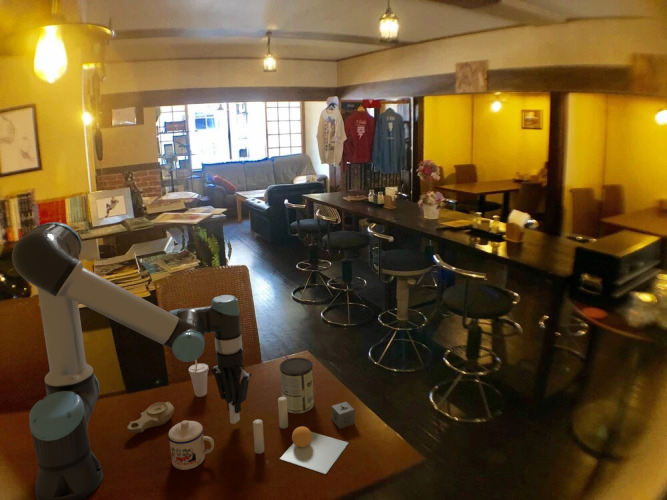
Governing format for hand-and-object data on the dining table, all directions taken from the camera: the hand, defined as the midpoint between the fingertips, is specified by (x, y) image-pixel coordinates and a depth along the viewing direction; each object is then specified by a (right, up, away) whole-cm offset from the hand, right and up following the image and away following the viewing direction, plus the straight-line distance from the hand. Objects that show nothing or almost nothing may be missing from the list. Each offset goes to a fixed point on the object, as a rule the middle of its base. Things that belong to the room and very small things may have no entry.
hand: (235, 420), depth 150 cm
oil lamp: (-25, -2, +2) cm, 25 cm away
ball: (+20, -1, -9) cm, 23 cm away
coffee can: (+18, +1, +11) cm, 21 cm away
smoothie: (-15, +3, +19) cm, 24 cm away
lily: (+15, +6, +28) cm, 33 cm away
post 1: (+9, -5, -11) cm, 15 cm away
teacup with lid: (-8, -6, -14) cm, 17 cm away
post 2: (+14, -2, 0) cm, 15 cm away
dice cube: (+32, -1, +2) cm, 32 cm away
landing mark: (+24, -4, -11) cm, 27 cm away
